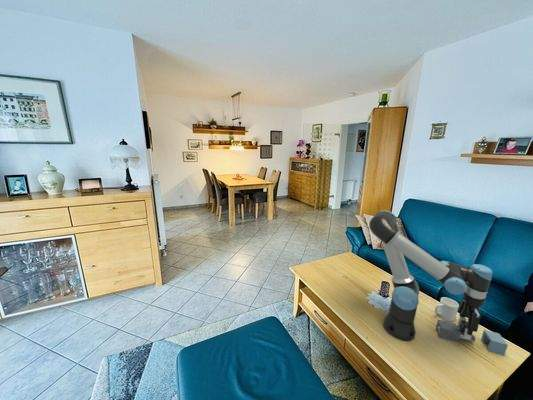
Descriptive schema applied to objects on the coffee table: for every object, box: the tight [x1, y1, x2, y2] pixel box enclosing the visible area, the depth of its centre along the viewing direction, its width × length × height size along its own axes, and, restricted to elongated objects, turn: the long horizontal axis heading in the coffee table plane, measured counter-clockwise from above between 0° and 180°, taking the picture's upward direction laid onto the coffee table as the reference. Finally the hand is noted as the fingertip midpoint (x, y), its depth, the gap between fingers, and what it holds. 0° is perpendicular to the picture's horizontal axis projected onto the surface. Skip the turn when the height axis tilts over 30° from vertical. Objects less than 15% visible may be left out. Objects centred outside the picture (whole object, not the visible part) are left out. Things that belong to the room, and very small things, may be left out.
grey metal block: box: [435, 319, 461, 344], centre depth 116 cm, size 8×6×6 cm
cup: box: [434, 296, 460, 322], centre depth 129 cm, size 8×12×10 cm
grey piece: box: [436, 320, 476, 343], centre depth 115 cm, size 15×3×9 cm, turn 69°
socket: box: [480, 329, 509, 356], centre depth 110 cm, size 6×7×6 cm
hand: (463, 333), depth 114 cm, fingers open, 6 cm apart
